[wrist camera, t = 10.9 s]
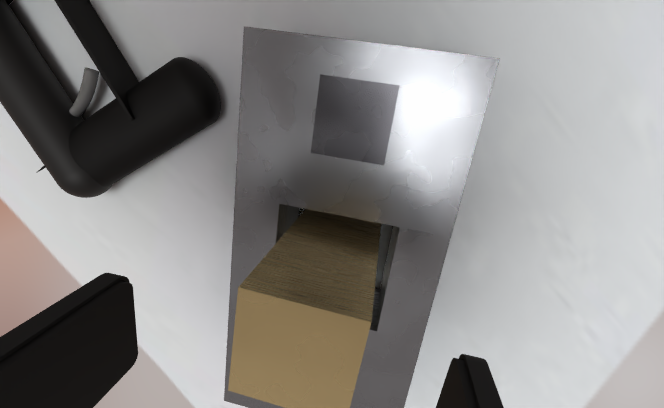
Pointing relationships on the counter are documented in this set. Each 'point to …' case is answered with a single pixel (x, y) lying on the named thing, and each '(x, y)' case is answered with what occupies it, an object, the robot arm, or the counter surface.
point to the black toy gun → (110, 121)
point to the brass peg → (307, 314)
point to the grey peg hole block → (357, 172)
